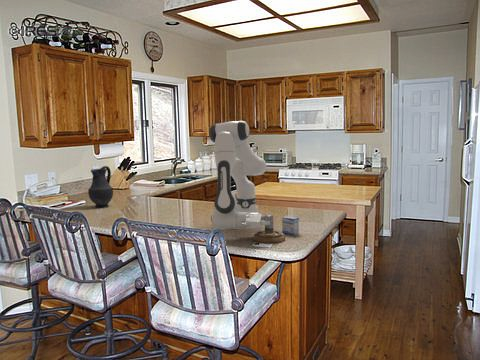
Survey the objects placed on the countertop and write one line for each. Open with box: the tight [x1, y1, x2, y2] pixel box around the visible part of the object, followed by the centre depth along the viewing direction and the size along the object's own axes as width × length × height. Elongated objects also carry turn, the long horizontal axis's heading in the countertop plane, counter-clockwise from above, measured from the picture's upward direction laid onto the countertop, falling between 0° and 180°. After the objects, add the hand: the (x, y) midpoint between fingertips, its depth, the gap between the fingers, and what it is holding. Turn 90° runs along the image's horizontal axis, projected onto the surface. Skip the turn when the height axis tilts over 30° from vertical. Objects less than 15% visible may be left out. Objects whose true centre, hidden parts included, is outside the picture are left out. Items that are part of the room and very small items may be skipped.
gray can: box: [263, 214, 276, 236], centre depth 205 cm, size 6×6×10 cm
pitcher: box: [87, 165, 114, 209], centre depth 303 cm, size 17×21×30 cm
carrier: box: [253, 229, 286, 244], centre depth 205 cm, size 16×16×3 cm
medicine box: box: [281, 215, 300, 236], centre depth 216 cm, size 8×4×9 cm, turn 52°
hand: (270, 220), depth 204 cm, fingers open, 8 cm apart
